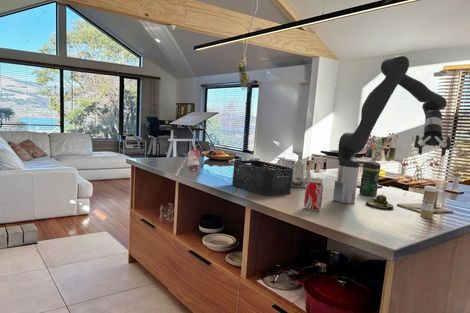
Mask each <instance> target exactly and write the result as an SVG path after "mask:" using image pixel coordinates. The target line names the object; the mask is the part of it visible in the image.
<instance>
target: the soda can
mask: <svg viewBox="0 0 470 313" xmlns="http://www.w3.org/2000/svg"><path fill="white" fill-rule="evenodd" d="M323 192H324V184H323V183H322V181H318V180H308V182H307V184H306V185H305V190H304V200H303V207H304V208H305V209H306V210H308V211H311V212H317V211H320V209H321V208H322V203H323Z"/></svg>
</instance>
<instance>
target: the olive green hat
mask: <svg viewBox="0 0 470 313" xmlns="http://www.w3.org/2000/svg"><path fill="white" fill-rule="evenodd" d="M384 193H385V191H383V192H382V194H378V195H376V198H374V197H372V198H371V199H370V200H366V201H365V205H369V206H371V207H375V208H380V209H389V210H390V211H392V210H393V209H394V205H393V204H392V203H389V201H388V200H387V197H386V195H385V194H384Z"/></svg>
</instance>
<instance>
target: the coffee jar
mask: <svg viewBox="0 0 470 313" xmlns="http://www.w3.org/2000/svg"><path fill="white" fill-rule="evenodd" d="M380 171H381V164H380V163H379V162H377V161H365V162H363V165H362V174H361V179H360V180H361V181H360V186H359V192H358V193H359V195H363V196H369V197H373V196H378V195H377V194H378V186H379V176H380Z"/></svg>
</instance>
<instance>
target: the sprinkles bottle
mask: <svg viewBox="0 0 470 313" xmlns="http://www.w3.org/2000/svg"><path fill="white" fill-rule="evenodd" d="M423 188H424V189H423V198H422V201H421V202H422V208H421V213H420V217H422V218H423V219H429V220H431V219H433V215H434V214H433V209H434V202H435V195H436V192H437V191H438V187H437V186H433V185H425V186H424V187H423Z"/></svg>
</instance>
